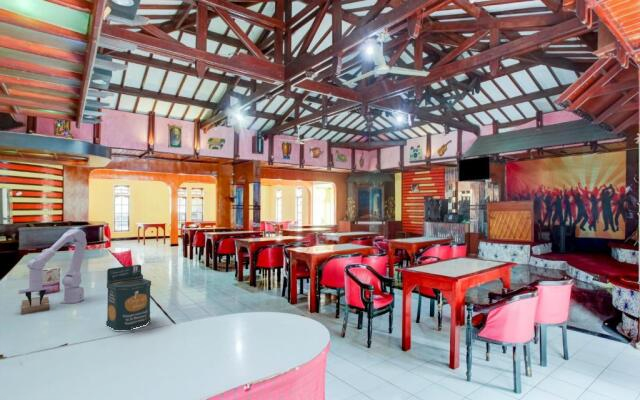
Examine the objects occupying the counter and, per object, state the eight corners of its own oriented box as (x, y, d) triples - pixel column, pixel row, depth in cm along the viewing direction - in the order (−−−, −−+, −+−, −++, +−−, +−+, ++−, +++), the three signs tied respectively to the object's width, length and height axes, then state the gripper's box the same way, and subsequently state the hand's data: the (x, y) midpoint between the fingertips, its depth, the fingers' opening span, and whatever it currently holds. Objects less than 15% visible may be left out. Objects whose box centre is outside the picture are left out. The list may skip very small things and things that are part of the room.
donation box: (140, 317, 177) (141, 264, 177) (154, 324, 167) (155, 267, 167) (106, 325, 164) (106, 268, 165) (119, 333, 154) (119, 272, 155)
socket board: (49, 310, 189) (49, 305, 189) (21, 314, 181) (21, 310, 181) (48, 300, 207) (48, 296, 207) (22, 304, 199) (22, 300, 199)
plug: (39, 309, 189) (39, 298, 189) (31, 310, 187) (31, 299, 187) (39, 307, 192) (39, 296, 192) (31, 308, 190) (31, 297, 190)
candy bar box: (57, 290, 232) (57, 267, 232) (59, 292, 229) (60, 267, 229) (36, 294, 223) (37, 269, 223) (39, 295, 220) (39, 270, 220)
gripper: (52, 277, 197) (51, 300, 197) (19, 281, 188) (18, 305, 188) (52, 279, 192) (52, 303, 192) (18, 283, 182) (18, 308, 182)
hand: (35, 304), depth 189 cm, fingers closed on plug, 3 cm apart
